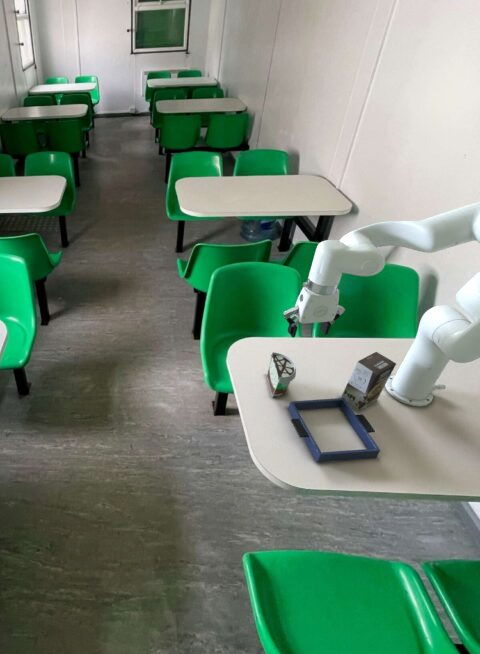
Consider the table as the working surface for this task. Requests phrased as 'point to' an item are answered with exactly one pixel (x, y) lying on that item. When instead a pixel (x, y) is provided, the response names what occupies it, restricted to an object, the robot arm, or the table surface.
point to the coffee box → (367, 380)
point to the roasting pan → (356, 421)
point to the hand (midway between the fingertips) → (307, 333)
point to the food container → (280, 374)
